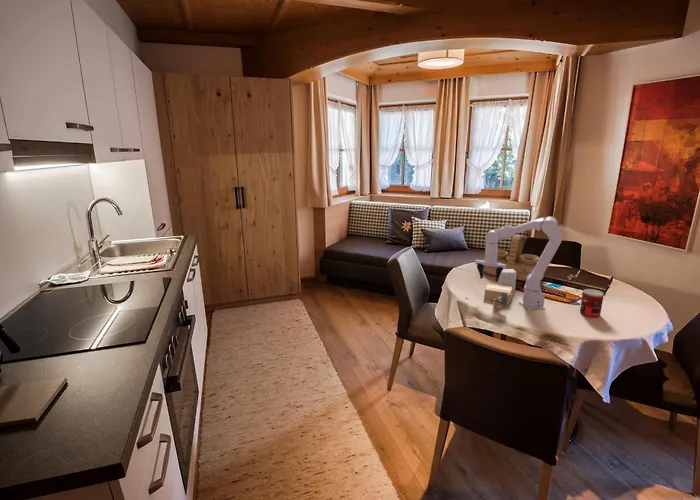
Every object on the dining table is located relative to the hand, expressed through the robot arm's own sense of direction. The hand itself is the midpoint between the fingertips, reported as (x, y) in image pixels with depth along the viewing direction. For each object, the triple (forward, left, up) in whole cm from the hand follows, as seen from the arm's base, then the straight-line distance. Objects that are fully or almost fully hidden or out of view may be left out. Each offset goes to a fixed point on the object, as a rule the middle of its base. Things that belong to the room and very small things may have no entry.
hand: (489, 279), depth 185 cm
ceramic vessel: (+28, -31, -11) cm, 43 cm away
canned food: (-26, -36, -11) cm, 46 cm away
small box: (+10, -16, -11) cm, 22 cm away
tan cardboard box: (-12, -3, -10) cm, 16 cm away
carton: (0, -6, -10) cm, 12 cm away
